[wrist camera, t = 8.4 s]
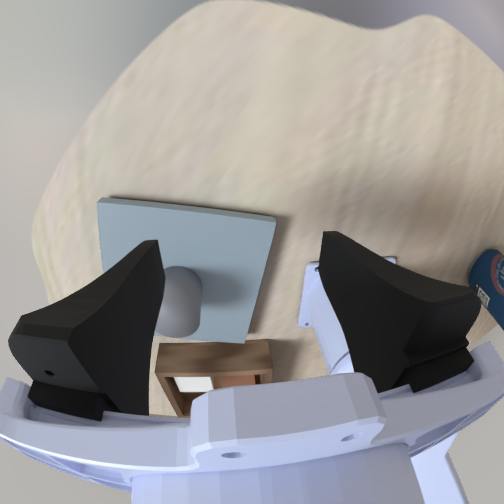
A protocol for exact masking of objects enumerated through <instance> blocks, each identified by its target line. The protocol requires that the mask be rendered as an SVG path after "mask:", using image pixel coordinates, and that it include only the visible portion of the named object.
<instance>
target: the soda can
mask: <svg viewBox="0 0 504 504" xmlns="http://www.w3.org/2000/svg"><path fill="white" fill-rule="evenodd" d="M468 282H469V287H470V288H471V289H472V290H473V291H474V292H475V293H476V294H477V295H478V296H479V298H480V300H481V303H482V304H483V305H484V306H485V308H486V309H487V310H488V311H489V312H490V314H491V315H492V316H493V317H494V319H495V320H496V321H497V323H498V324H499V325H500V326H501V328H502V329H503V330H504V255H502V254H501V253H500V252H499V251H498V250H493V249H487V250H484V251H483V252H481V253H480V254H479V255H478V256H477V257H476V259H475V260H474V262H473V263H472V265H471V267H470V269H469V273H468Z"/></svg>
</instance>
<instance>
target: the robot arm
mask: <svg viewBox="0 0 504 504" xmlns="http://www.w3.org/2000/svg"><path fill="white" fill-rule="evenodd" d="M316 267H318V269H315V268H316ZM165 280H166V277H165V272H164V268H163V263H162V258H161V253H160V248H159V243H158V239H157V240H144V241H143V242H141V243H140V244H139V245H138V246H136V247H135V248H134V249H133V250H132V251H130V252H129V253H128V254H127V255H126V256H125V257H123V258H122V259H121V260H120V261H119V262H117V263H116V264H115V265H114V266H112V267H111V268H110V269H109V270H107V271H106V272H105V273H104V274H102V275H101V276H100V277H98V278H97V279H96V280H94V281H93V282H91V283H90V284H88V285H87V286H85V287H83V288H82V289H80V290H78V291H76V292H75V293H73V294H71V295H69V296H68V297H66V298H64V299H62V300H60V301H58V302H56V303H53V304H51V305H49V306H47V307H44V308H42V309H39V310H36V311H33V312H31V313H28V314H25V315H22V316H21V318H20V319H19V321H18V323H17V325H16V326H15V328H14V330H13V332H12V333H11V335H10V337H9V339H8V343H9V348H10V350H11V352H12V354H13V356H14V357H15V359H16V360H17V361H18V363H19V364H20V365H21V366H22V368H23V369H24V370H25V371H26V372H27V374H28V375H29V376H30V377H31V378H32V379H33V383H32V386H31V387H30V386H29V385H27V384H26V383H23V382H20V381H17V380H14V379H11V378H6V379H5V381H4V384H3V386H2V389H1V391H0V438H1V439H2V440H3V441H5V442H6V443H8V444H9V445H10V446H12V447H13V448H15V449H16V450H18V451H20V452H21V453H23V454H24V455H26V456H27V457H29V458H32V459H34V460H36V461H38V462H41V463H43V464H45V465H48V466H50V467H53V468H55V469H57V470H60V471H63V472H65V473H68V474H70V475H73V476H76V477H79V478H82V479H85V480H88V481H92V482H94V483H98V484H101V485H105V486H108V487H112V488H116V489H120V490H124V491H129V492H132V498H131V504H469V502H468V500H467V497H466V494H465V492H464V489H463V486H462V484H461V482H460V479H459V477H458V474H457V472H456V469H455V467H454V465H453V463H452V460H451V458H450V456H449V454H448V450H449V448H450V446H451V445H452V443H453V441H454V440H455V438H456V436H457V434H458V432H459V431H460V430H462V429H463V428H465V427H466V426H468V425H470V424H471V423H473V422H474V421H476V420H477V419H479V418H480V417H481V416H483V415H484V414H485V413H486V412H487V411H488V410H490V409H491V408H492V407H493V406H494V405H495V404H496V403H497V402H498V401H499V400H500V399H501V398H502V397H503V396H504V362H503V360H502V359H501V357H500V356H499V354H498V353H497V351H496V350H495V348H494V347H493V345H492V344H491V343H490V342H486V343H484V344H482V345H480V346H478V347H476V348H474V349H473V350H472V351H470V353H469V351H468V350H467V348H466V347H467V346H468V345H469V342H468V340H467V339H466V337H465V336H466V335H467V333H468V332H469V330H470V328H471V327H472V325H473V324H474V322H475V320H476V318H477V316H478V314H479V312H480V308H481V300H480V298H479V296H478V295H477V294H476V293H475V292H474V291H473V290H472V289H471V288H470V287H466V286H461V285H456V284H451V283H446V282H443V281H439V280H435V279H432V278H429V277H426V276H423V275H420V274H418V273H415V272H412V271H410V270H407V269H405V268H403V267H401V266H399V265H396V260H395V259H394V258H393V257H388V258H383V257H381V256H379V255H377V254H375V253H374V252H372V251H370V250H369V249H367V248H365V247H364V246H362V245H360V244H359V243H357V242H355V241H354V240H352V239H350V238H349V237H347V236H345V235H343V234H342V233H339V232H337V231H323V238H322V245H321V252H320V259H319V262H316V263H309V264H308V265H307V266H306V268H305V276H304V283H303V291H302V298H301V304H300V311H299V317H298V326H299V327H300V328H304V327H313V328H314V331H315V334H316V337H317V339H318V342H319V345H320V348H321V351H322V354H323V357H324V360H325V363H326V366H327V369H328V372H329V375H327V376H321V377H315V378H309V379H302V380H294V381H287V382H278V383H268V384H257V385H244V386H231V387H226V388H220V389H214V390H210V391H208V392H206V393H205V394H203V395H201V396H199V397H197V398H196V399H194V400H193V402H192V407H191V418H173V417H155V416H149V371H150V358H151V348H152V342H153V336H154V332H155V328H156V324H157V320H158V316H159V312H160V308H161V305H162V301H163V296H164V289H165Z"/></svg>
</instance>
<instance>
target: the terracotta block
mask: <svg viewBox="0 0 504 504" xmlns="http://www.w3.org/2000/svg"><path fill="white" fill-rule="evenodd" d="M222 384H223V388H226V387H231V386H244V385H255V377H254V375H242V376H223V377H222Z"/></svg>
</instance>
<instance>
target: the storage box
mask: <svg viewBox="0 0 504 504" xmlns="http://www.w3.org/2000/svg"><path fill="white" fill-rule="evenodd" d="M155 374H156V376H157V378H158V380H159V382H160V384H161V386H162V388H163V390H164V392H165V394H166V396H167V398H168V399H169V401H170V403H171V405H172V407H173V409H174V410H175V412H176V414H177V416H178V417H179V418H191V407H192V402H193V400H194V399H196V398H197V397H199V396H201V395H203V394H205V393H206V392H180V391H179V388H178V386H177V384H176V381H175V379H174V377H213V384H214V389H220V388H223V384H222V377H223V376H242V375H254V377H255V385H257V384H268V383H272V374H273V365H272V360H271V354H270V349H269V343H268V339H263V340H250V341H245V343H228V342H213V343H159V349H158V355H157V361H156V367H155Z"/></svg>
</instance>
